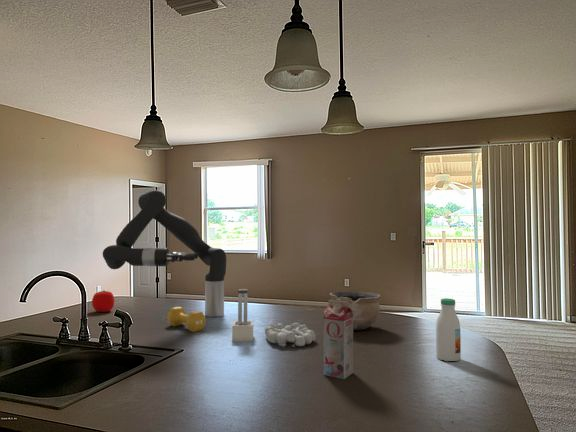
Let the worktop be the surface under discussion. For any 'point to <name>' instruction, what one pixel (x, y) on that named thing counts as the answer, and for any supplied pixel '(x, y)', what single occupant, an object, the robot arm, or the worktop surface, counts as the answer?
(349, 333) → the juice carton
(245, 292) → the grey long square block
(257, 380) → the worktop surface
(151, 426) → the worktop surface
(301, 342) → the campfire
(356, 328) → the ceramic bowl
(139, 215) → the robot arm
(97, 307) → the tomato
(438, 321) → the milk bottle
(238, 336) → the open box
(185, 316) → the dumbbell
